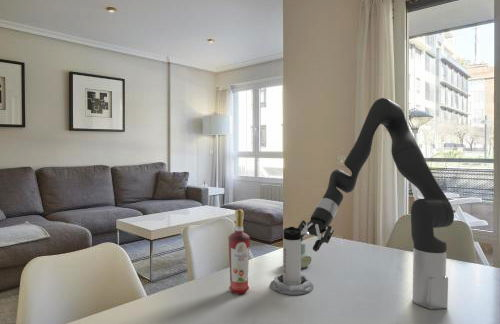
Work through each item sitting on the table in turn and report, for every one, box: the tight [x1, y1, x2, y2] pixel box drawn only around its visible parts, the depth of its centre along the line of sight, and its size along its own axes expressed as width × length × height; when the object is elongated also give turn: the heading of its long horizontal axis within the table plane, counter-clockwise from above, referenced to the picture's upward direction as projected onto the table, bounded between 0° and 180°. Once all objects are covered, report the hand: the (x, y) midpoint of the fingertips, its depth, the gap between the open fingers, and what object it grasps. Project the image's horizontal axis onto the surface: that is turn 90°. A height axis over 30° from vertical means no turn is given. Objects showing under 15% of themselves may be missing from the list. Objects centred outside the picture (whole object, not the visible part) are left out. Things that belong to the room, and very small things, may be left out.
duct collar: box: [270, 273, 314, 296], centre depth 122 cm, size 15×15×3 cm
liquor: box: [227, 209, 251, 295], centre depth 117 cm, size 7×7×28 cm
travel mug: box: [282, 226, 302, 285], centre depth 122 cm, size 6×7×20 cm
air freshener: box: [301, 240, 313, 269], centre depth 143 cm, size 11×8×10 cm
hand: (305, 247), depth 126 cm, fingers open, 8 cm apart
